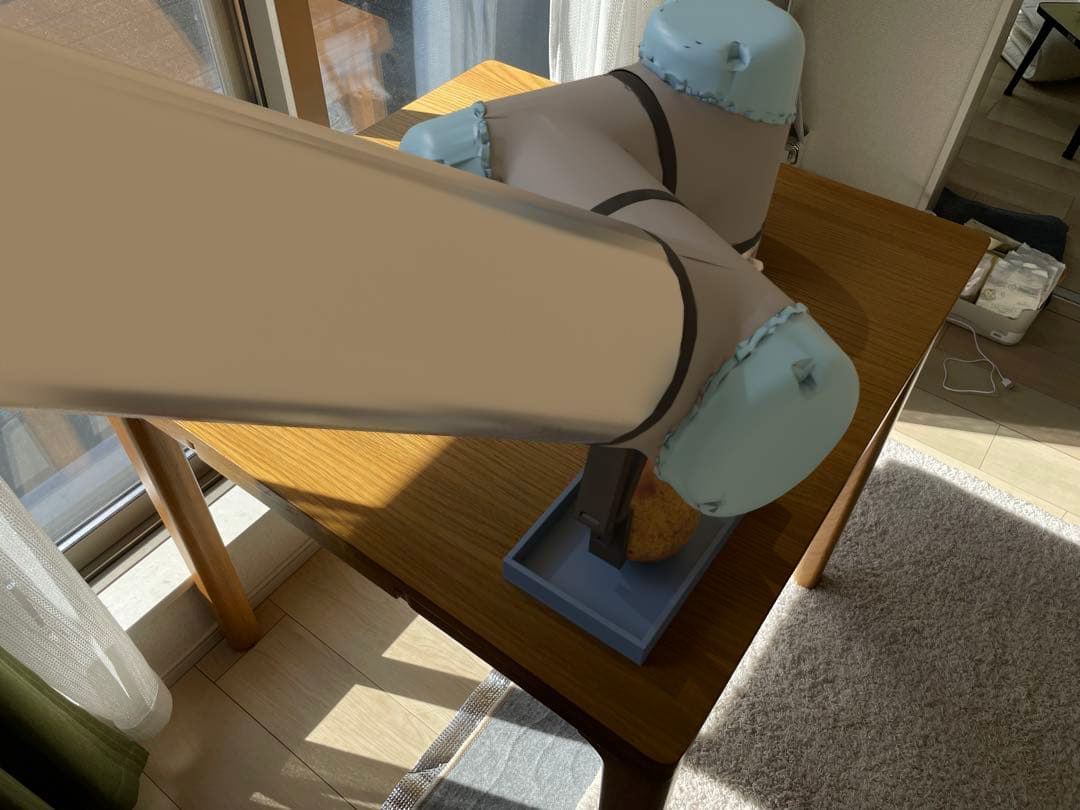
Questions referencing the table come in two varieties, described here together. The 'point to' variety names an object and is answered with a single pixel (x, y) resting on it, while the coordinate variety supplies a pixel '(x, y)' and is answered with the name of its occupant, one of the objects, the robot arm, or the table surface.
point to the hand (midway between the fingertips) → (641, 513)
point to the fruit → (659, 520)
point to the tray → (610, 577)
